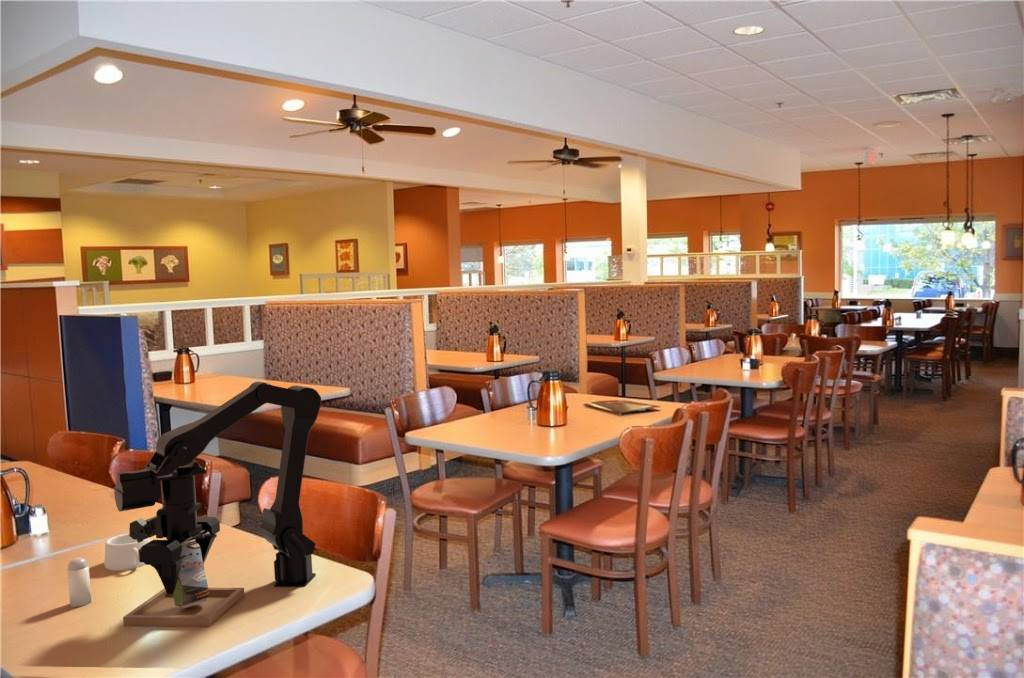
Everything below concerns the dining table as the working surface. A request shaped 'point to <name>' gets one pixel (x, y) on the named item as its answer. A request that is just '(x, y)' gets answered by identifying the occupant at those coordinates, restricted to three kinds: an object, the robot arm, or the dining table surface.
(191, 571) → the beverage can
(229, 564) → the dining table surface
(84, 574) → the salt shaker
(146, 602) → the tray
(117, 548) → the mug
